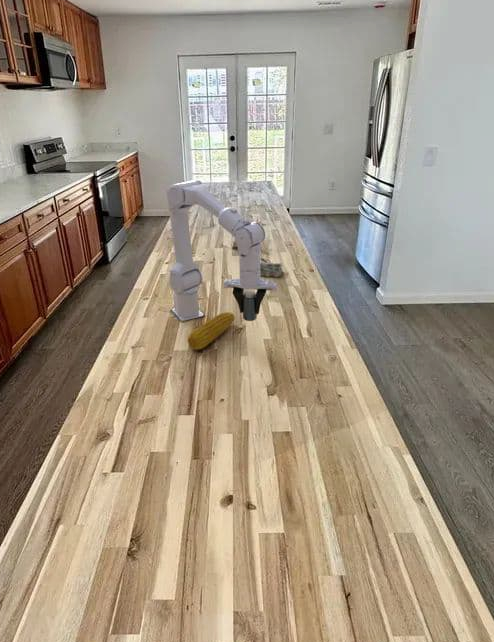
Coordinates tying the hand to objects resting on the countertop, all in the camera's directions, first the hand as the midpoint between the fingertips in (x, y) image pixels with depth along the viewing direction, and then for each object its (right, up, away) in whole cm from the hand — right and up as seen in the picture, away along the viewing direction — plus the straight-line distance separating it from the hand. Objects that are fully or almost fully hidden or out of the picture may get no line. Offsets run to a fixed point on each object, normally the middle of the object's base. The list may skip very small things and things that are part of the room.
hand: (249, 311), depth 125 cm
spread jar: (0, +27, +80) cm, 84 cm away
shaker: (0, -2, +1) cm, 2 cm away
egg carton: (+10, +14, +52) cm, 55 cm away
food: (-11, -8, +7) cm, 15 cm away
